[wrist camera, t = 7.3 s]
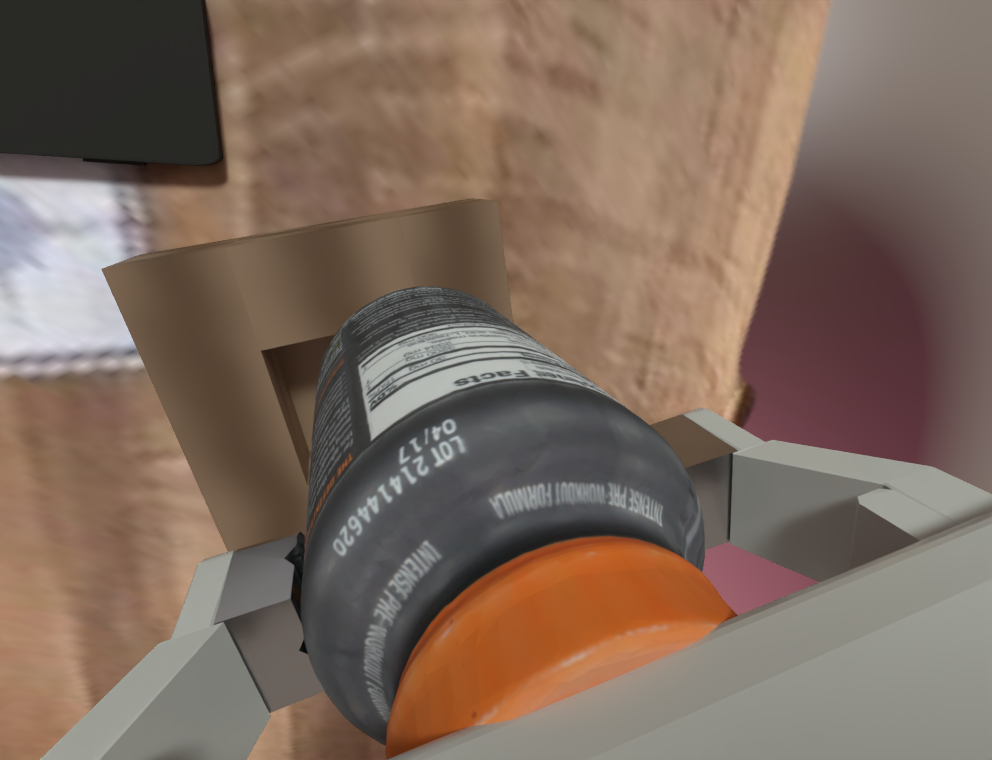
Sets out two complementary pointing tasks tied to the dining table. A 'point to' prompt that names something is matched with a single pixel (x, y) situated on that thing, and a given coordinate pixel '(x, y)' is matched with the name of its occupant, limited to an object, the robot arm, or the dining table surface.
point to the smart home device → (108, 81)
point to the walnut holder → (282, 339)
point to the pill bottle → (484, 525)
